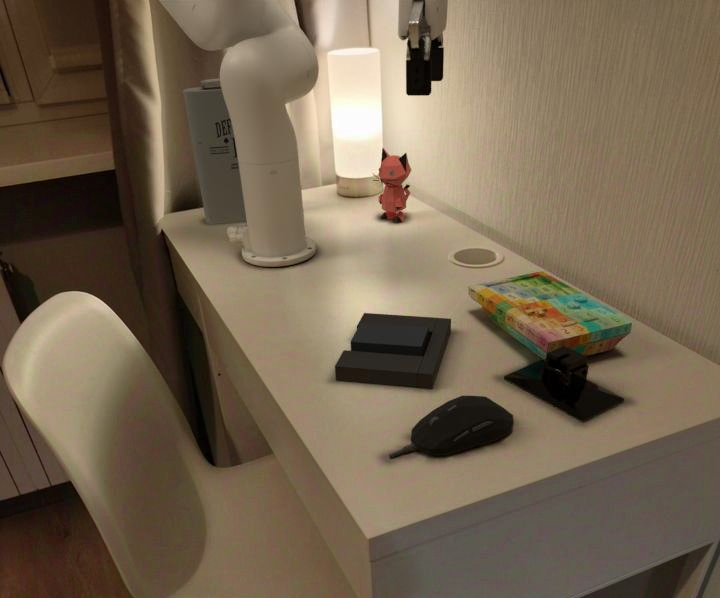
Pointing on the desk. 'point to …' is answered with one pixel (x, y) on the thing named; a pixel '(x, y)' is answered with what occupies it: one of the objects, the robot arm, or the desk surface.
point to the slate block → (391, 339)
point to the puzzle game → (550, 314)
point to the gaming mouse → (459, 426)
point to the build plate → (565, 384)
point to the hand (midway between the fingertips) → (425, 87)
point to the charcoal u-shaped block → (397, 356)
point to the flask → (215, 153)
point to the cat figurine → (394, 185)
